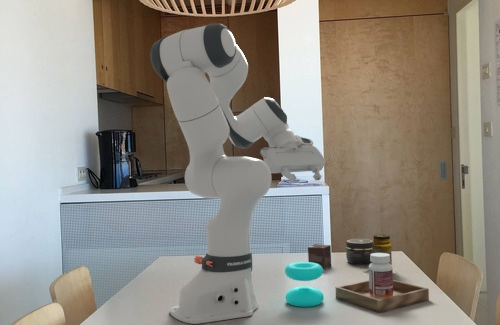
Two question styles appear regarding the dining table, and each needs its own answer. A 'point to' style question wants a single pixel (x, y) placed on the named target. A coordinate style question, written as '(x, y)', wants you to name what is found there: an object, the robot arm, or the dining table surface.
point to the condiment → (381, 246)
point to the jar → (359, 251)
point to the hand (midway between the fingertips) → (306, 179)
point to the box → (320, 255)
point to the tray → (401, 297)
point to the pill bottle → (380, 276)
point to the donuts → (304, 294)
